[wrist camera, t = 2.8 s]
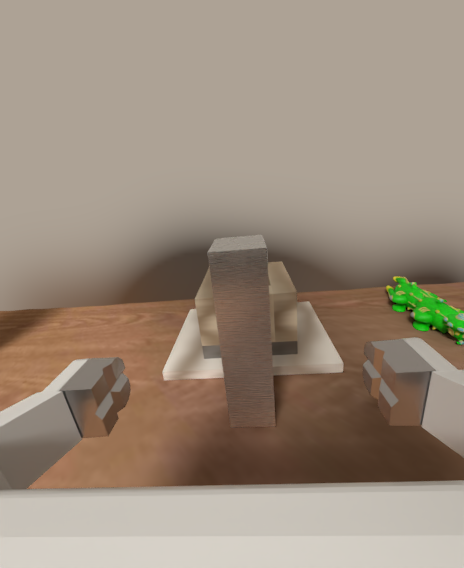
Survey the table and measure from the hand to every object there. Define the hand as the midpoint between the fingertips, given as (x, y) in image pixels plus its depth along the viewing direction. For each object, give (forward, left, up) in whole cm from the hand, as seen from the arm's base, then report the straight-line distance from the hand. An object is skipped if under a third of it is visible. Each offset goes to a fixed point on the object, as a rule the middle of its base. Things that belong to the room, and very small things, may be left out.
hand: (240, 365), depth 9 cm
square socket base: (0, +24, -14) cm, 28 cm away
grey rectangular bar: (0, +12, -14) cm, 19 cm away
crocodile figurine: (+25, +27, -15) cm, 40 cm away
